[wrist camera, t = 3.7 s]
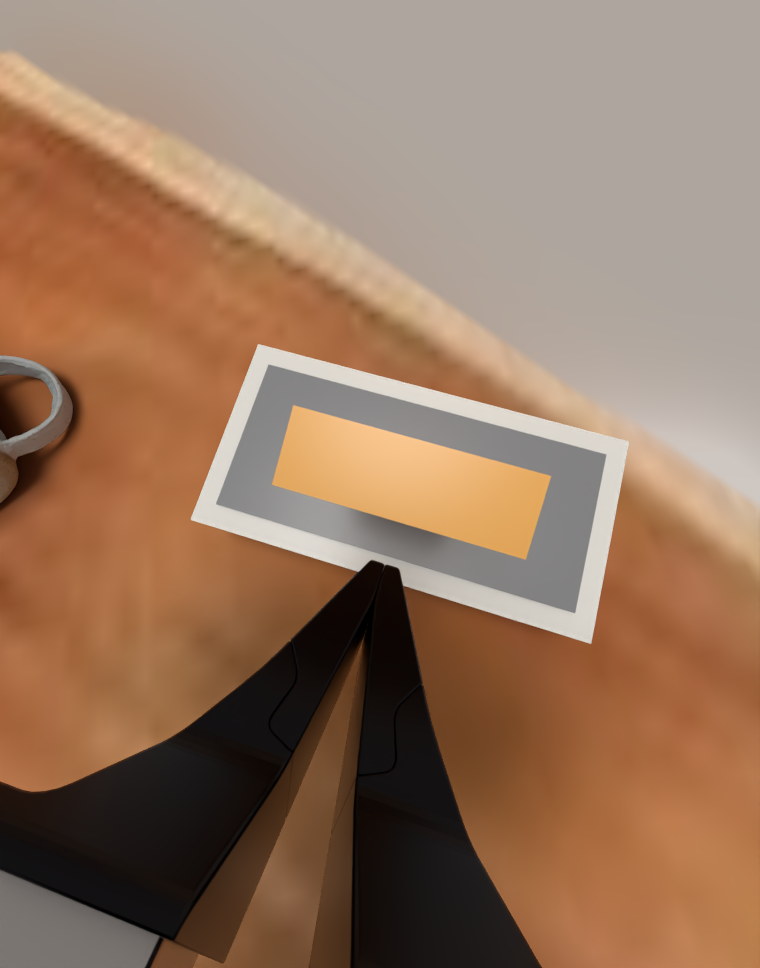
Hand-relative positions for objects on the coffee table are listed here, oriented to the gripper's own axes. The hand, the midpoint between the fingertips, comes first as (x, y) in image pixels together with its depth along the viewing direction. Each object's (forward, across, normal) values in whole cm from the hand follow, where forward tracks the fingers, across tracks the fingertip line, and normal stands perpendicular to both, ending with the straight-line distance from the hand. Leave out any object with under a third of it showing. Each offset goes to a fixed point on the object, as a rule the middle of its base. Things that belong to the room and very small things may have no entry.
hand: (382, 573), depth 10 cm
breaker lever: (+6, 0, +1) cm, 7 cm away
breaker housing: (+10, 0, +4) cm, 10 cm away
